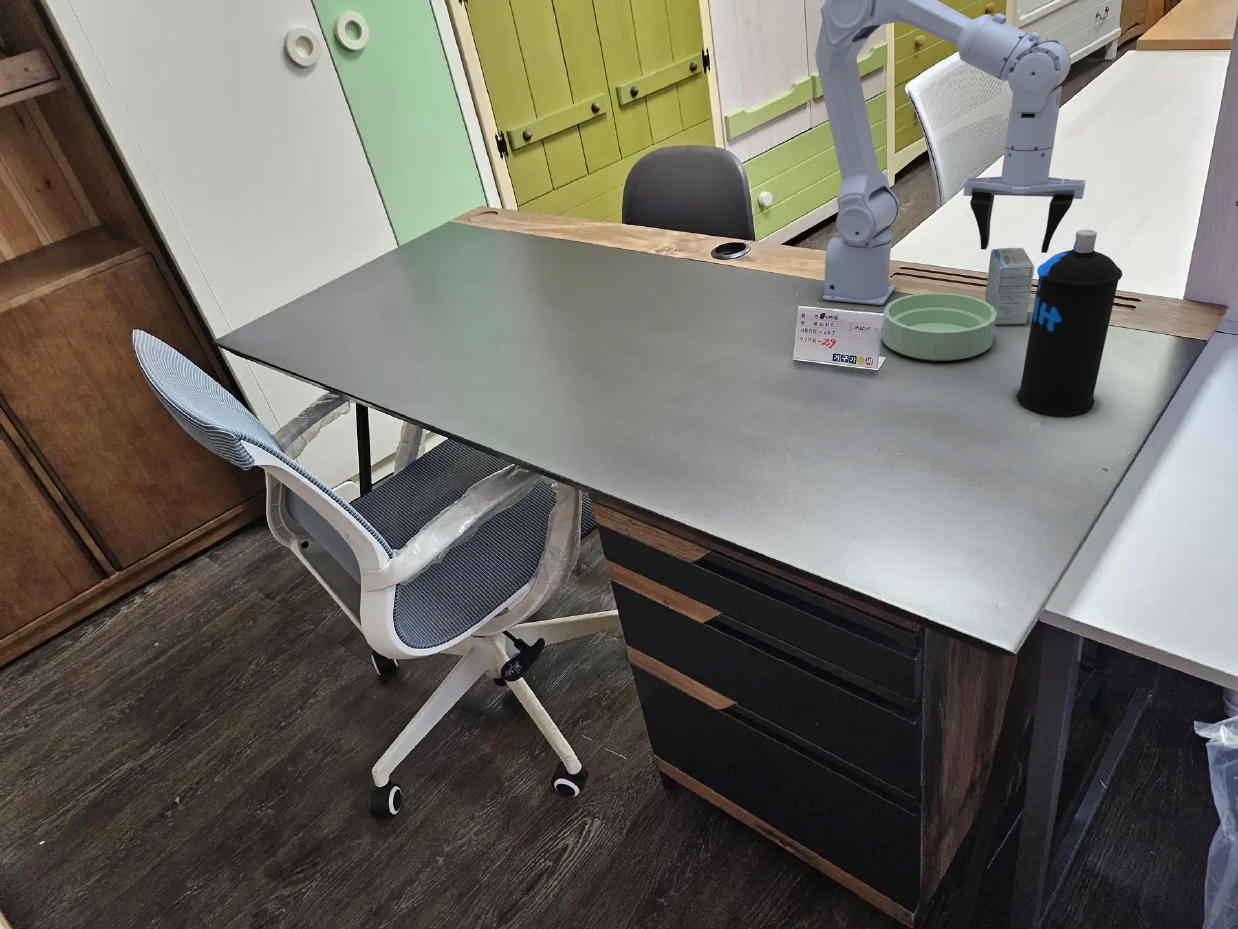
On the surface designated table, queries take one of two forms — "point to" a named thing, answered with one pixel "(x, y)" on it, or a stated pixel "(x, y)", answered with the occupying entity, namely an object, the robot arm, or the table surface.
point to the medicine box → (1009, 285)
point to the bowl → (939, 326)
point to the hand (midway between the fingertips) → (1014, 248)
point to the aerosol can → (1069, 329)
